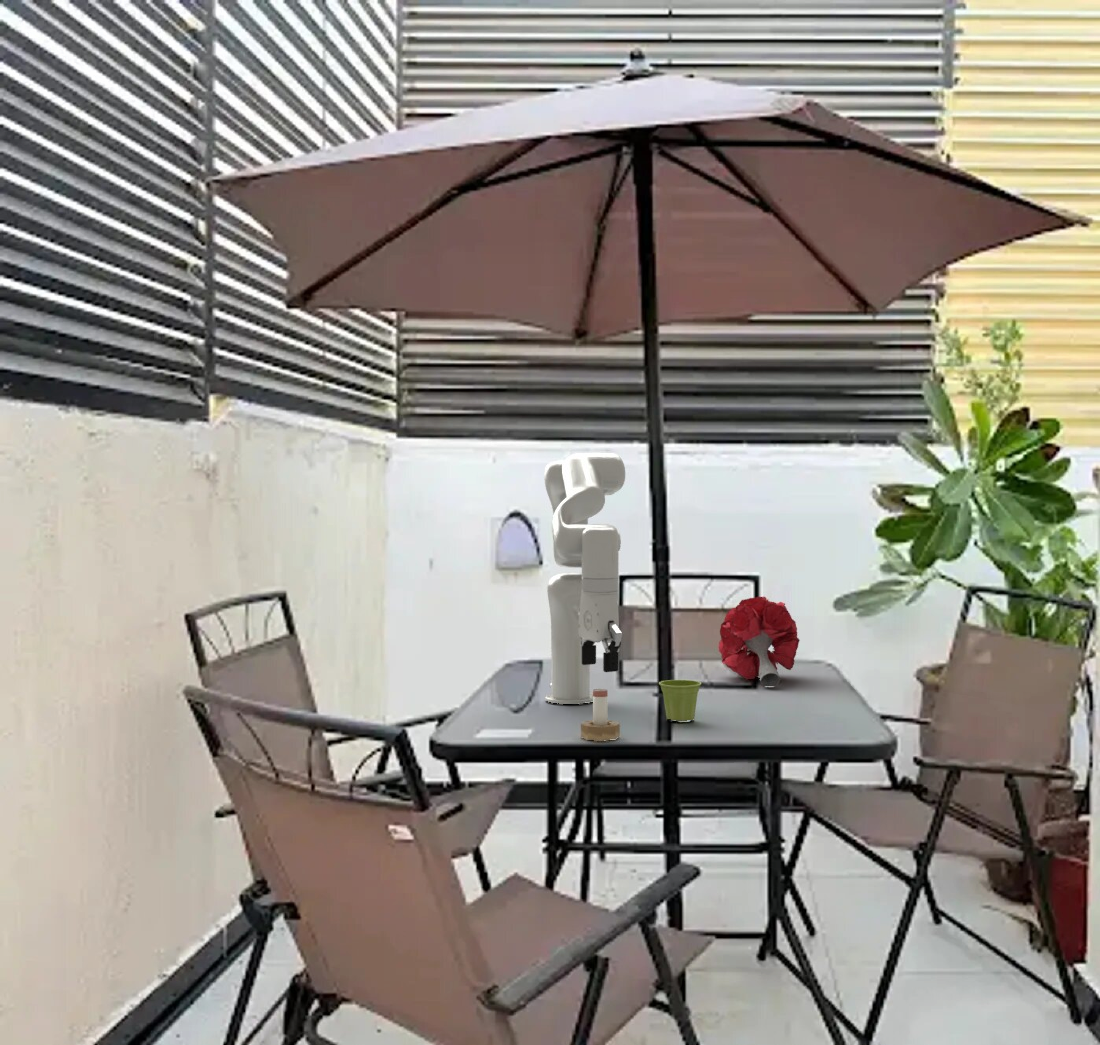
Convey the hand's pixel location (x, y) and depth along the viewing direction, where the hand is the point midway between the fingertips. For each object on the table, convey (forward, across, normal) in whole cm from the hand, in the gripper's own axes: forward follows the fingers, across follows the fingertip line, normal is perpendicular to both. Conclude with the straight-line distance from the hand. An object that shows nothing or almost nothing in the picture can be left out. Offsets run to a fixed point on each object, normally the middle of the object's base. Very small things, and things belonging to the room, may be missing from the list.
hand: (599, 667), depth 250 cm
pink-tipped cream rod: (+14, +1, 0) cm, 15 cm away
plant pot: (+15, -8, +25) cm, 30 cm away
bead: (+14, +1, 0) cm, 15 cm away
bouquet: (+17, -49, +75) cm, 92 cm away
